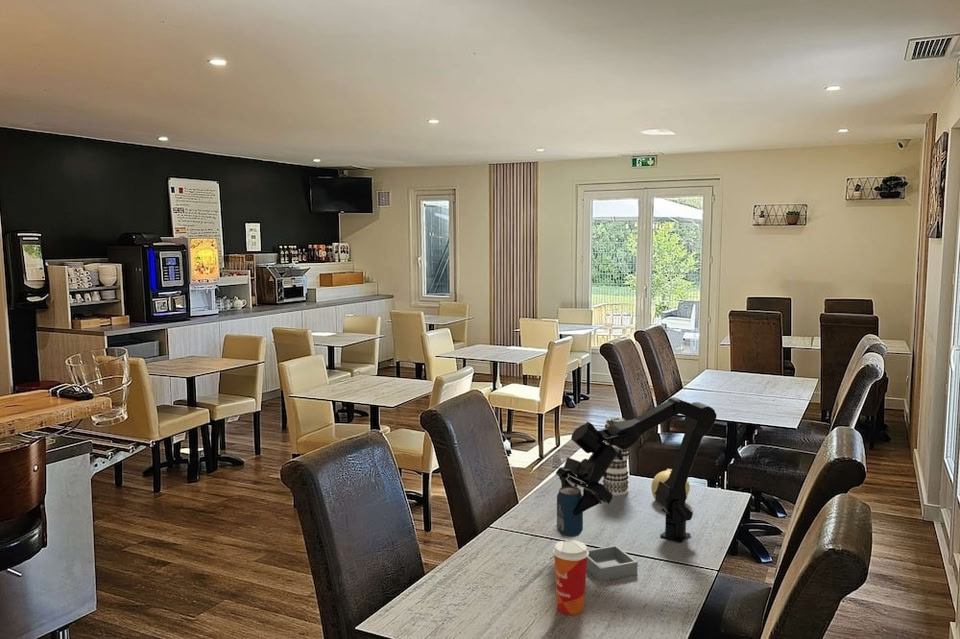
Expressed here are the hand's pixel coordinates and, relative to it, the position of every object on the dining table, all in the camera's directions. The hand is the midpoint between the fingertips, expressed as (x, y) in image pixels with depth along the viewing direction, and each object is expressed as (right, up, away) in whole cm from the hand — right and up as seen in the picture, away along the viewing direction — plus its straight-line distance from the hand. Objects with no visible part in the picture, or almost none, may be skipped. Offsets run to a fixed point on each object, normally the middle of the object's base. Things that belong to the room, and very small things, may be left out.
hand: (565, 510), depth 192 cm
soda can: (+1, -7, +2) cm, 7 cm away
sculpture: (+39, -8, +40) cm, 56 cm away
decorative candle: (+23, -7, +50) cm, 56 cm away
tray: (+10, -13, -7) cm, 18 cm away
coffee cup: (-2, -16, -26) cm, 31 cm away
